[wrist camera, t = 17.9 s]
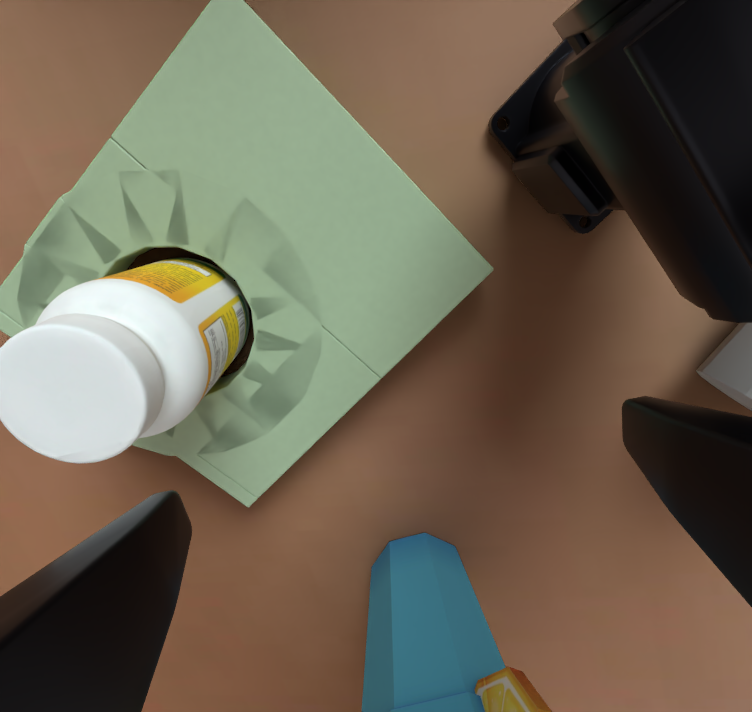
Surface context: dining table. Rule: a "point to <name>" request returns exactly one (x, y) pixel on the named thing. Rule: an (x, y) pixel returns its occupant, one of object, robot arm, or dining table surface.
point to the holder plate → (258, 241)
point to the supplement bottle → (121, 358)
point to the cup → (434, 638)
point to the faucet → (732, 365)
